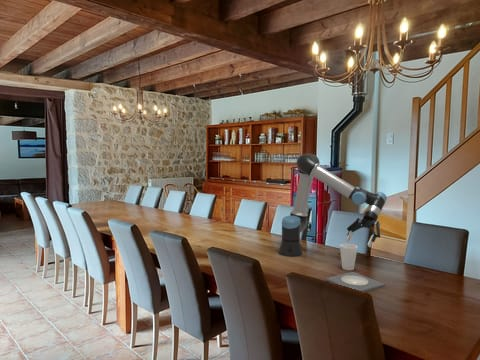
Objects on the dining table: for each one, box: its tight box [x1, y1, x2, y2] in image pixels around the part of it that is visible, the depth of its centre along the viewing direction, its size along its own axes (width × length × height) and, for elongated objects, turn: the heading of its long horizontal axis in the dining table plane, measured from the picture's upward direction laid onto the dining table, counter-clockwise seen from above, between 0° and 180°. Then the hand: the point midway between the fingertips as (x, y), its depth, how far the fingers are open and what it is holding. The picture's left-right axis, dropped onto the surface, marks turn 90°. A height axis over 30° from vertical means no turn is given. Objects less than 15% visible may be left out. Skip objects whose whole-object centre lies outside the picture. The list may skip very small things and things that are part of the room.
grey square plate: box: [325, 271, 386, 293], centre depth 175 cm, size 20×20×2 cm
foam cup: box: [339, 243, 358, 271], centre depth 196 cm, size 10×9×13 cm
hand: (357, 243), depth 200 cm, fingers open, 13 cm apart
